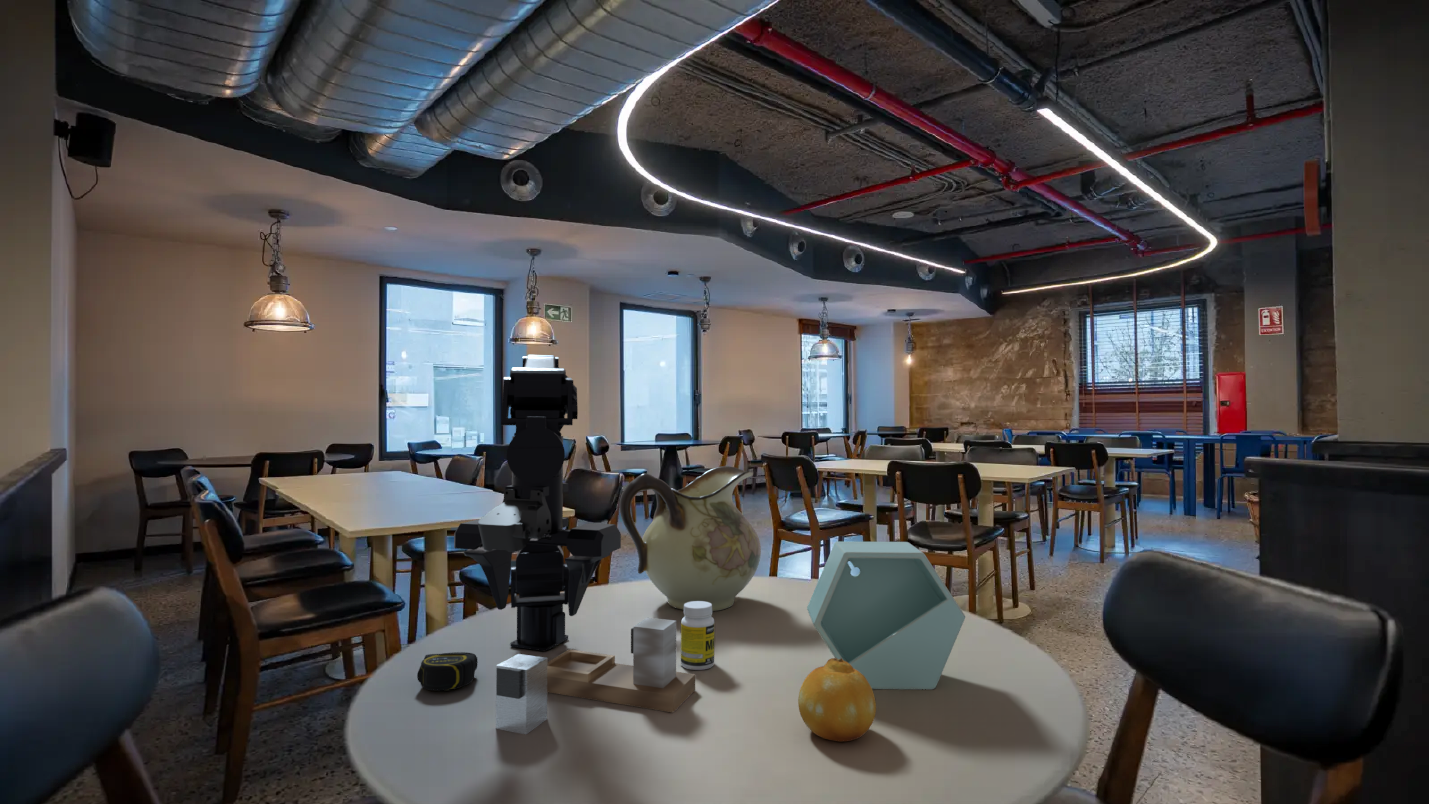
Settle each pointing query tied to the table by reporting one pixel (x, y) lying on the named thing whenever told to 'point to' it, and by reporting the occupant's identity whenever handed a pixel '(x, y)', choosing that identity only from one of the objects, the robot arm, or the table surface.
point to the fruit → (837, 702)
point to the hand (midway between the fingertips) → (536, 612)
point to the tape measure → (447, 670)
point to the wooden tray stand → (627, 671)
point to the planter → (886, 614)
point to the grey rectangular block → (521, 693)
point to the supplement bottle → (697, 636)
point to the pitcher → (695, 538)
